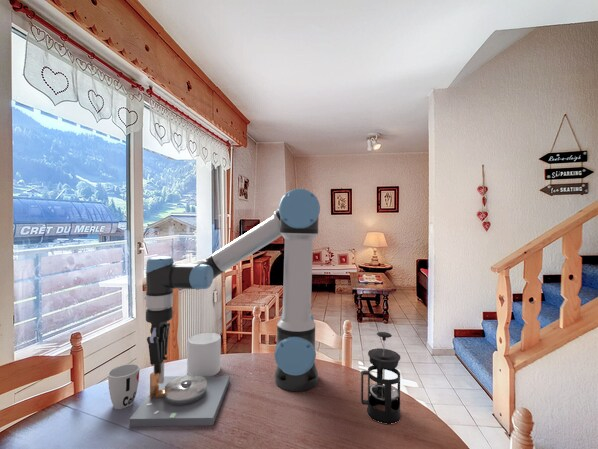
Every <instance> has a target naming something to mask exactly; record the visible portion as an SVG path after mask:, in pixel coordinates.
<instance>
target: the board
mask: <svg viewBox="0 0 598 449" xmlns="http://www.w3.org/2000/svg"><path fill="white" fill-rule="evenodd" d="M178 377H181V375H179V376H177V375H175V376H173V375H172V376H169V375H168V376H165V375H164V382H163V384H159V390H164V389H165V386H166V384H167V383H169V382H170V381H171V380H173V379H175V378H178ZM203 377H204V378H205V379H206V380H207V391H206V394H205V395H204V396H203V397H202V398H200V399H199V400H197V401H195V402H192V403H189V404H184V405H173V404H169V403H167V402H166V401H165V399H164V397H155V398H150V393H149V395H148V396H147V397H146V398H145V400H144V401H143V402H141V404H140V405H139V407H138V408H137V409H136V411H134V412H133V414H132V415H131V416H130V417H129V420H128V427H182V426H183V427H186V426H213V425H214V423H215V421H216V419H217V416H218V413H219V411H220V408H221V405H222V403H223V401H224V398H225V395H226V392H227V389H228V387H229V385H230V381H231V380H230V378H231V377H230V375H214V376H203Z"/></svg>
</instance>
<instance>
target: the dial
mask: <svg viewBox="0 0 598 449" xmlns="http://www.w3.org/2000/svg"><path fill="white" fill-rule="evenodd" d="M180 376H181V375H180ZM206 391H207V380H206V379H205V378H204V377H203V376H200V375H188V374H187V375H182V376H181V377H178V378H175V379H173V380H171V381H170V382H169V383H167V384H166V386H165V389H164V390H159V372H154V371H153V372H151V373H150V374H149V394H150V398H155V397H164V399H165V401H166V402H167V403H169V404H173V405H184V404H189V403H192V402H195V401H197V400H199V399H200V398H202V397H203V396H204V395H205V394H206Z"/></svg>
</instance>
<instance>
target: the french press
mask: <svg viewBox="0 0 598 449" xmlns="http://www.w3.org/2000/svg"><path fill="white" fill-rule="evenodd" d="M376 336H377V337H380V338H382V341H383V344H382V346H383V348H382V347H381V348H372V349H370V350H368V351H367V356H368V357H369V362H370V364H371V365H370V366H369V367H368V368H367V370H361V372H360V402H361V404H362V405H363V406H364V405H366V413H368V414H367V415H369V416H370V417H371V418H372V419H371V420H373V419H374V420H376V421H379V422H382V423H387V424H386V425H388V424H389V425H392V424H391V423H395V422H397V421H399V420H400V421H401V419H400V418H402V414H401V372H400V371H399V370H398V369H397V367H398V366H399V361H401V355H400V354H399V353H398V352H396V351H395V350H391V349H387V348H385V346H386V344H385V342H386V340H387V339H389V338H391V337H392V334H391V333H389V332H386V331H379V332H376ZM374 370H376V376H375V375H373V374H372V373H371V371H374ZM385 371H389V372H392V373H394V374H395V375H397V377H395V378H392V379H391V378H389V379H386V378H385ZM365 375H366V376H367V399H364V376H365ZM370 380H371V381H372V382H375V383H373V384H370V383H371V381H370ZM396 384H397V388H396V387H394V386H392V385H396ZM376 406H383V407H384V410H381V409H378V408H375V407H376ZM369 416H368V417H369ZM370 417H369V418H370ZM374 420H373V421H374ZM376 421H375V422H376ZM400 421H399V422H400ZM397 423H398V422H397ZM395 424H396V423H395Z"/></svg>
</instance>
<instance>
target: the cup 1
mask: <svg viewBox="0 0 598 449" xmlns="http://www.w3.org/2000/svg"><path fill="white" fill-rule="evenodd" d="M107 380H108V381H107V382H108V392H109V396H110V400H111V403H112V406H113V408H114V409H115V410H122V408H124V409H127V408H129V407H130V406H132V405H133V404H134V401H135V398H136V395H137V391H138V386H139V382H140V365H139V364H135V363H128V364H122V365H119V366H115V367H113V368H112V369H111V370H110V371H108V373H107ZM128 406H129V407H128ZM126 407H127V408H126Z"/></svg>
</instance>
